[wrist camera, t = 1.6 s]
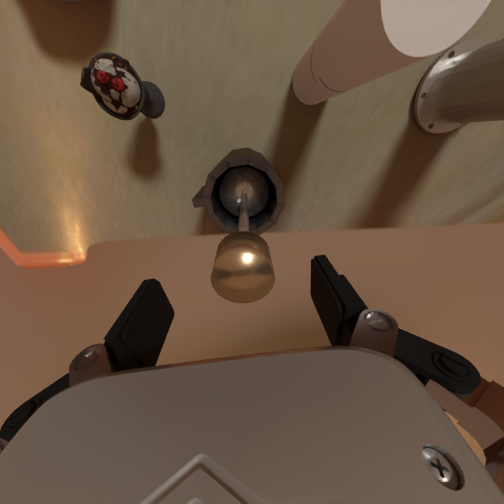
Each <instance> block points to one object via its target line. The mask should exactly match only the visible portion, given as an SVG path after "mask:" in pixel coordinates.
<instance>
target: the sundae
mask: <svg viewBox="0 0 504 504" xmlns="http://www.w3.org/2000/svg"><path fill="white" fill-rule="evenodd" d="M80 85H81V87H83V88H84V89H86V90H87V91H89V92H91V93H92V94H93V95H94V97H95V99H96V101H97V102H98V104H99V105H100V107H101V108H102V109H103V110H104V111H106V112H107V113H108V114H109V115H111V116H113V117H115V118H118V119H120V120H132V119H133V118H135V117H136V116H137V115H138V114H139V112H142V113H143V114H144V115H146V116H148V117H152V118H155V117H158V116H160V115H161V114H162V112H163V110H164V105H165V103H164V97H163V95H162V93H161V91H160V90H159V88H158V87H157V86H156V85H155V84H153V83H151V82H148V81H143V82H142V81H141V79H140V78H139V76H138V74H137V73H136V71H135V70H134V69H133V67H132V66H131V65H130V64H129V62H128V60H126V59H123V58H122V57H120V56H119V55H117V54H114V53H106V52H105V53H100V54H98V55H96V56H95V57H93V58H92V60H91V61H90V63H89V66H88V68H86V67H83V69H82V74H81V83H80Z"/></svg>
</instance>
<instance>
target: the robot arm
mask: <svg viewBox="0 0 504 504" xmlns="http://www.w3.org/2000/svg"><path fill="white" fill-rule="evenodd" d="M414 117H415V120H416V122H417V124H418V126H419V127H420V128H421V129H422V130H423V131H425V132H427V133H433V134H440V133H446V132H449V131H452V130H455V129H456V128H458V127H460V126H462V125H463V124H465V123H466V122H481V121H499V120H504V39H501V40H498V41H495V42H492V41H490V40H489V39H486V38H482V37H479V38H471V39H468V40H465V41H462V42H460V43H458V44H456V45H454V46H452V47H451V48H449V49H448V50H446V51H445V52H444V53H443V54H442V55H440V56H439V57H438V58H437V59H436V61H435V62H434V63H433V64H432V65H431V66H430V68H429V69H428V71H427V72H426V73H425V75H424V77H423V79H422V81H421V82H420V85H419V87H418V90H417V93H416V96H415V101H414ZM311 298H312V299H313V302H314V305H315V307H316V309H317V312H318V314H319V316H320V319H321V321H322V324H323V326H324V328H325V331H326V333H327V336H328V338H329V340H330V343H331V345H332V346H322V347H312V348H301V349H292V350H283V351H274V352H265V353H257V354H248V355H240V356H232V357H223V358H215V359H207V360H199V361H192V362H183V363H176V364H167V365H160V366H155V365H156V362H157V359H158V357H159V354H160V352H161V349H162V346H163V344H164V341H165V339H166V336H167V333H168V331H169V328H170V325H171V323H172V320H173V318H174V310H173V308H172V306H171V304H170V302H169V300H168V298H167V296H166V294H165V292H164V290H163V288H162V286H161V284H160V282H159V281H157V280H156V279H148V280H144V281H143V282H142V284H141V285H140V287H139V288H138V289H137V291H136V292H135V294H134V295H133V297H132V298H131V300H130V301H129V303H128V304H127V305H126V307H125V308H124V310H123V312H122V313H121V314H120V316H119V317H118V319H117V320H116V322H115V323H114V325H113V326H112V327H111V329H110V330H109V332H108V333H107V335H106V336H105V338H104V339H105V343H104V344H95V345H91V346H89V347H87V348H86V349H84V350H83V351H81V352H80V353H79V354H78V355H77V356H76V357H75V358H74V359H73V360H72V362H71V364H70V367H69V373H68V374H66V375H64V376H63V377H62V378H60V379H59V380H57V381H56V382H54V383H53V384H51V385H50V386H49V387H47V388H45V389H44V390H42V391H41V392H39V393H38V394H36V395H35V396H33V397H32V398H30V399H29V400H28V401H26V402H25V403H23V404H22V405H21V406H19V407H18V408H17V409H16V410H15V411H14V412H13V413H12V414H11V415H10V416H9V417H8V418H7V420H6V421H5V422H4V424H3V426H2V427H1V430H0V504H504V387H502V386H501V385H499V384H498V383H496V382H494V381H491V382H488V381H487V380H485V379H484V378H482V377H481V376H480V374H479V372H478V370H477V369H476V368H475V366H474V365H473V364H472V363H470V361H468V360H467V359H465V358H464V357H463V356H461V355H459V354H457V353H455V352H453V351H451V350H449V349H446V348H444V347H441V346H439V345H436V344H434V343H432V342H430V341H427V340H425V339H423V338H420V337H418V336H416V335H413V334H411V333H409V332H406V331H404V330H402V329H399V328H398V324H397V322H396V320H395V319H394V318H393V317H392V316H391V315H390V314H388V313H386V312H384V311H382V310H378V309H368V308H367V307H366V305H365V304H364V302H363V301H362V299H361V298H360V297H359V295H358V294H357V293H356V291H355V290H354V288H353V287H352V286H351V284H350V283H349V282H348V280H347V279H346V277H345V276H344V275H338V273H337V272H336V270H335V269H334V267H333V266H332V264H331V263H330V262H329V260H328V259H327V257H326V256H325V255H319V256H315V257H314V259H312V260H311ZM444 411H446V412H448V413H449V414H450V415H452V416H453V417H454V418H455V419H457V420H458V422H457V423H458V424H459V425H460V426H461V427H462V428H464V429H465V430H466V431H467V432H468V433H470V435H471V436H473V438H475V439H476V441H477V442H478V443H479V445H480V446H481V448H482V449H483V451H484V454H485V457H486V464H485V467H484V466H483V464H482V463H481V461H480V460H479V459H478V457H477V456H476V454H475V453H474V451H473V450H472V449H471V447H470V446H469V444H468V443H467V442H466V440H465V439H464V438H463V436H462V435H461V434H460V432H459V431H458V429H457V428H456V427H455V425H454V424H453V422H452V421H451V420H450V418H449V417H448V416H447V414H446V413H445V412H444ZM422 449H423V450H422Z"/></svg>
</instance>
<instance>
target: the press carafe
mask: <svg viewBox="0 0 504 504" xmlns="http://www.w3.org/2000/svg"><path fill="white" fill-rule="evenodd" d="M237 167H250V168H253V169H255V170H257V171H258V172H260V173H261V174H262V175H263V176H264V178H265V180H266V182H267V184H268V188H269V197H268V201H267V203H266V205H265V207H264V208H263V209H262V210H261V211H260V212H259V213H257V214H256V215H254V216H250V217H249V232H253V233H255V234H257V235H260V234H262V233H263V232H264V231H266V230H267V229H269V228H270V227H272V226H273V225H274V224H275V223H276V222H277V220H278V218H279V216H280V214H281V212H282V210H283V208H284V206H285V203H284V185H283V182H282V181H281V179H280V178H279V176H278V175H277V174H276V172H275V171H274V169H273V168H272V166H271V165H270V163H269V162H268V161H267V160H266V159H265V157H264V156H263V155H262V154H261V153H258V152H256V151H254V150H252V149H250V148H242V149H236V150H232V151H231V152H230V153H229V154H228V155H227V156H225V157H224V158H223V159H222V160H221V161H220V162H219V163H218V164H217V166H216V167H215V168H214V169H213V170H212V171H211V172H210V173H209V174H208V177H207V181H206V184H205V186H203V187H202V188H201V189H200V191H199V192H198V193H197V194H196V195H195V197H194V198H193V199H192V202H193V205H194V208H196V207H203V206H205V208H206V211H207V215H208V217H209V218H210V219H211V220H212V221H213V222H214V224H215V225H216V226H217V227H218V228H219V229H220V230H221V231H223V232H226V233H228V234H231V233H234V232H238V231H239V216H236V215H233V214H232V213H230V212H229V211H228V210H227V209H226V208H225V207H224V206H223V204H222V202H221V199H220V185H221V182H222V180H223V178H224V177H225V175H226V174H227V173H228V172H230V171H231V170H233V169H235V168H237Z"/></svg>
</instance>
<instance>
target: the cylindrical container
mask: <svg viewBox="0 0 504 504" xmlns="http://www.w3.org/2000/svg"><path fill="white" fill-rule="evenodd" d="M490 1H491V0H342V1H341V3H340V4H339V5H338V7H337V8H336V10H335V11H334V12H333V14H332V15H331V16H330V18H329V19H328V21H327V22H326V23H325V25H324V26H323V28H322V29H321V30H320V32H319V33H318V34H317V36H316V37H315V39H314V40H313V41H312V43H311V44H310V45H309V47H308V48H307V50H306V51H305V52H304V54H303V55H302V57H301V58H300V59H299V61H298V62H297V64H296V67H295V69H294V73H293V80H292V83H293V90H294V93H295V95H296V97H297V98H298V100H299V101H301V102H302V103H304V104H307V105H315V104H318V103H320V102H322V101H325V100H327V99H330V98H332V97H334V96H337V95H339V94H341V93H344V92H346V91H348V90H351V89H353V88H355V87H358V86H360V85H363V84H365V83H367V82H370V81H372V80H374V79H377V78H379V77H381V76H384V75H386V74H388V73H391V72H393V71H396V70H398V69H400V68H403V67H405V66H407V65H410V64H412V63H414V62H417V61H419V60H422V59H424V58H426V57H429V56H431V55H433V54H436V53H438V52H440V51H442V50H443V49H445V48H447V47H449V46H450V45H452V44H453V43H454V42H456V41H457V40H458V39H459V38H461V37H462V36H463V35H464V34H465V33H466V32H467V31H468V30H469V29H470V28H471V27H472V26H473V24H474V23H475V22H476V21H477V20H478V18H479V17H480V16H481V15H482V13H483V12H484V10H485V9H486V7H487V6H488V4H489V3H490Z"/></svg>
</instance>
